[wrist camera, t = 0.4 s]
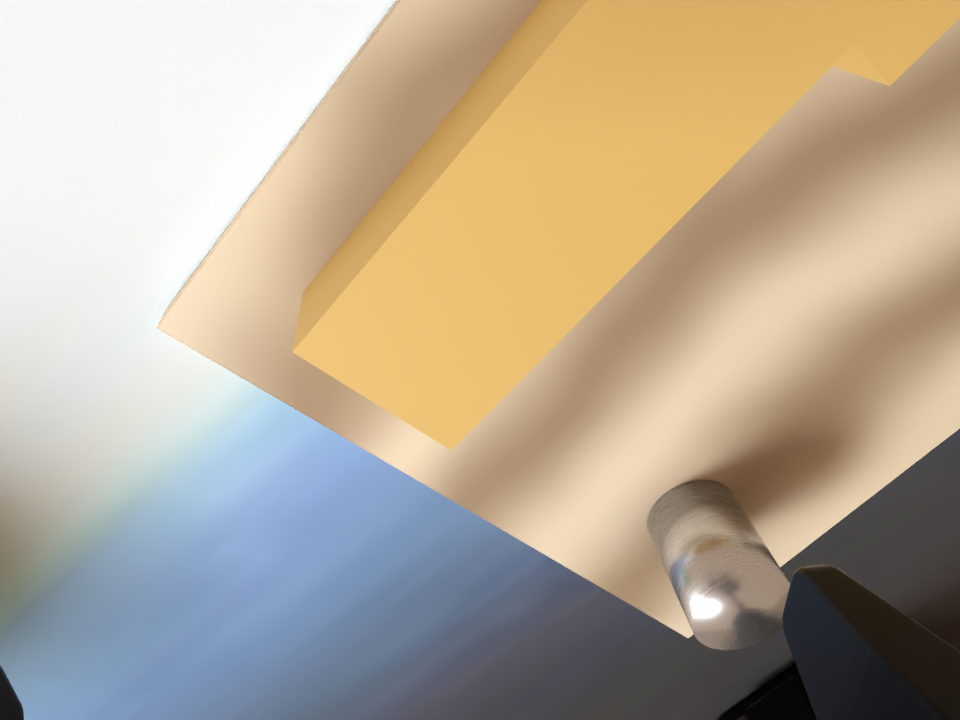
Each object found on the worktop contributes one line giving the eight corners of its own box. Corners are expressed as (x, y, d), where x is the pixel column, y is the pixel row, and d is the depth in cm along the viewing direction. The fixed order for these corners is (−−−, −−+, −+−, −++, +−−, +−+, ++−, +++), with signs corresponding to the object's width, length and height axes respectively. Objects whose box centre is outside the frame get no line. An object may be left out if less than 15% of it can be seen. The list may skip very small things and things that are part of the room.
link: (475, 406, 21) (489, 474, 19) (259, 263, 18) (241, 320, 16) (1087, -220, 15) (1230, -245, 13) (912, -577, 13) (1052, -701, 10)
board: (1354, 83, 21) (1396, 90, 20) (678, 616, 29) (688, 638, 28) (999, -811, 12) (1048, -867, 11) (165, 310, 20) (156, 328, 19)
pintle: (755, 507, 25) (816, 603, 21) (686, 563, 26) (735, 663, 22) (697, 464, 24) (753, 559, 20) (627, 525, 24) (669, 624, 21)
